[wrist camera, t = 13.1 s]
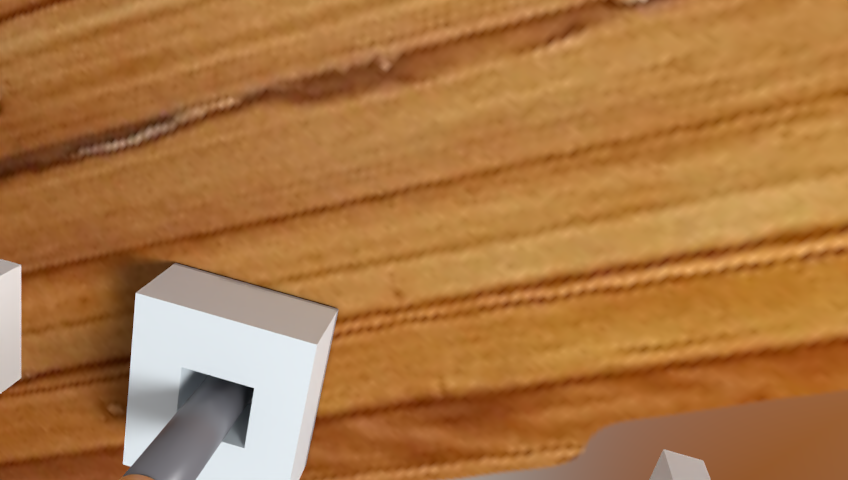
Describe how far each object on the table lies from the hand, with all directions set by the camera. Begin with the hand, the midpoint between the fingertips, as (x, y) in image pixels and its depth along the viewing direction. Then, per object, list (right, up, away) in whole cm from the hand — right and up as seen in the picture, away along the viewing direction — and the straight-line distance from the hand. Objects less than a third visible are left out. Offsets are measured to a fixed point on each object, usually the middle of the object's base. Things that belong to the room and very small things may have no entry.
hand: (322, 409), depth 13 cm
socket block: (-11, -6, +35) cm, 37 cm away
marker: (-11, -6, +34) cm, 37 cm away
